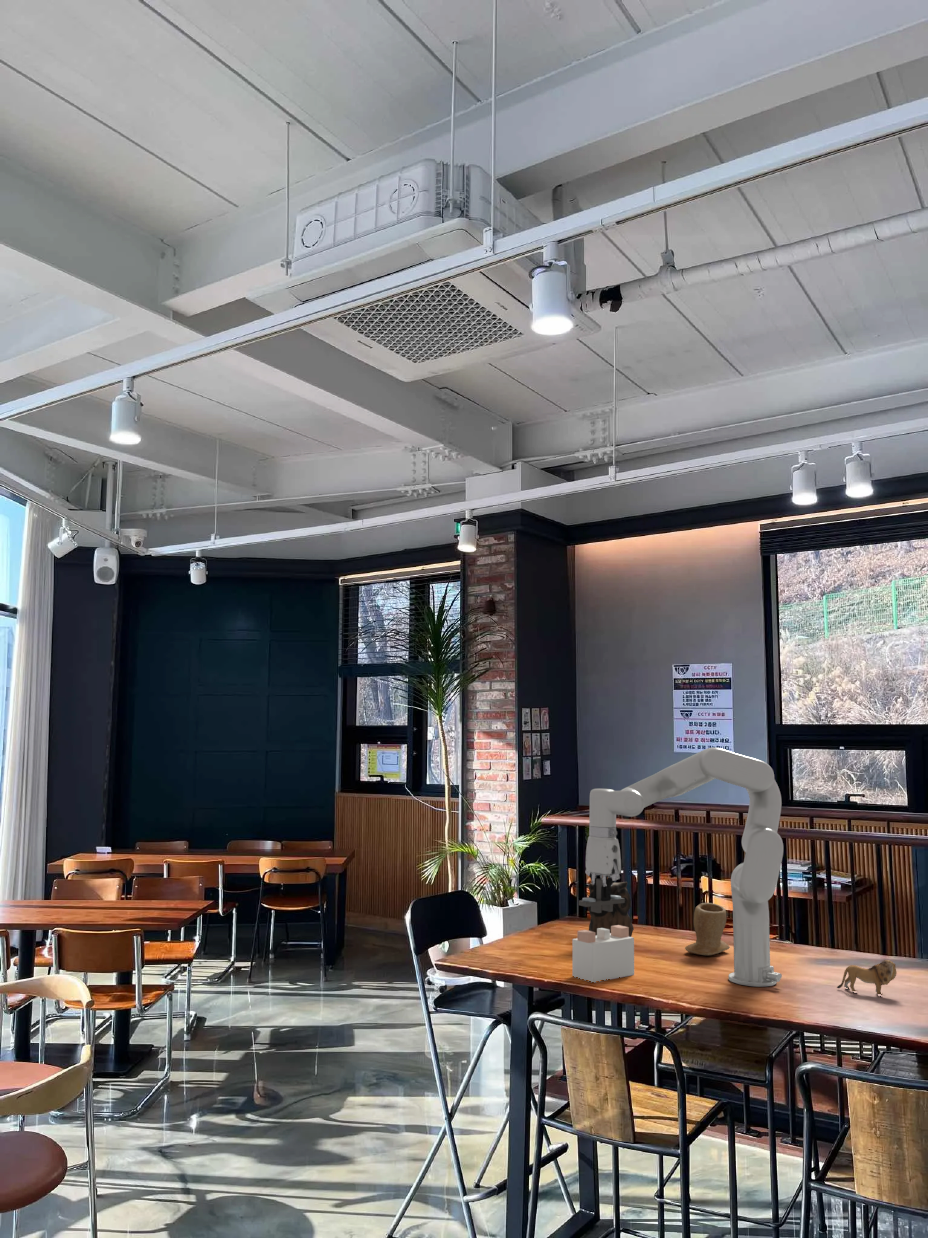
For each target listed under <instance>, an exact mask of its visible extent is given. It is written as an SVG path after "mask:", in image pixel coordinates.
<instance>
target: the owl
mask: <svg viewBox="0 0 928 1238" xmlns="http://www.w3.org/2000/svg"><path fill="white" fill-rule="evenodd" d="M593 885H594V884H592V882H591V883H589V884H588V890H589V891H588V892H589V895H588V897H587V898H593ZM627 886H628V882H627V881H623V882H622V881H620V882H614V883H613V885H612V886H611V895H618V896H621V898H625V903H619V904H613V911H612V912H608V911H604V910H602V911H601V913H596V912H592V911H591V906H590V907H587V910H588V913H589V914H590V915H589V916H590V921H589V925H588V931H592V932H595V936H596V935H597V929H598V928H605V929H609V930H610V933H611V926H615V925H621V926H625V927H629V937H633V931H634V930H635V928H634V925H633V924H632V923H633V919H632V918H631V916H630V915H629V910H630V909H631V907H632V899H631V894H630V893H629V891H628V888H627Z"/></svg>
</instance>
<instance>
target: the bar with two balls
mask: <svg viewBox="0 0 928 1238" xmlns="http://www.w3.org/2000/svg"><path fill="white" fill-rule="evenodd" d="M601 886H603V877H602V878H600V879H596V899H595V898H588V897H582V899H581V900H578V906H581V907H584V908H588V907H590V906H591V911H592V912H596V913H601V911H602V910H604V911H608V912H612V911H613V904H619V903H625V898H621V896H618V895H611V900H610V901H601Z"/></svg>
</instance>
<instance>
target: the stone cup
mask: <svg viewBox="0 0 928 1238" xmlns="http://www.w3.org/2000/svg"><path fill="white" fill-rule="evenodd" d="M726 924H727V911H726V908H725V907H724V906H721V905H719V904H716V903H713V902H702V903H699V904H698V905H697V906H696V907H695V909H694V912H693V928H694V931H695V936H696V937H695V938H696V939H695V942H694V943H691V944H688V945H686V946H685V947H684V950H685V951H687V952H688V953H691V954H695V955H701V956H713V955H716V954H719V953H722V952H725V951H727V950H729V949H730V945H728V943H726V942H725V941H724V940H722V936H723V932H724V929H725V927H726Z"/></svg>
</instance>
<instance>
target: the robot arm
mask: <svg viewBox="0 0 928 1238" xmlns="http://www.w3.org/2000/svg"><path fill="white" fill-rule="evenodd" d="M713 780H719V781H721V782H725V783H728V784H731V785H734V786H738V787H740V788H745V790H746V791H747V794H748V797H749V805H748V813H747V816H746V817H747V818H746V820H745V821H746V822H745V827H744V830H743V832H742V833H743V834H742V837H741V847H742V849H743V852H745V854H744V859H743V862H741V863H740V864H738V865H737V866H736V867H735V868H734V869H733V871H732V872H731V875H730V876H731V877H730V889H731V899H732V901H731V902H732V920H733V921H732V927H733V928H732V931H733V934H732V935H733V938H732V939H733V972H731V973H729V974H728V980H729V981H730V982H731V983H735V984H737V985H742V986H747V987H754V988H755V987H757V988H758V987H760V988H762V987H763V988H764V987H766V988H767V987H772V986H775V985H776V984H777V983H780V981H781V979H782V977H783V976H782V975H783V974H782V973H780V972H775V968H774V966H773V965H771V950H770V949H771V945H770V939H771V938H770V911H769V908H770V907H769V901H770V899H771V898H772V897H773V895H774V893H775V892H776V889H777V885H778V881H779V876H780V872H781V871H780V870H781V865H782V862H783V857H784V843H783V839H782V837H781V835H780V834H779V832H778V831H779V830H778V829H779V825H780V818H781V814H782V813H781V812H782V804H783V803H782V794H781V791H780V788H779V786H778V783H777V782H776V779H775V774H774V769H773V768H772V767H771V766H770V765H769V764H768V763H767V762H766V761H763V760H760V759H758V758H754V757H750V756H746V755H743V754H739V753H735V752H733V751H730V750H727V749H724V748H721V747H708V748H706V749H703V750H701V751H699V752H696V753H695V754H693V755H690V756H689V757H686V758H684V759H681V760H680V761H678V762H676V763H674V764H671V765H669V766H667V767H665V768H663V769H661V770H660V771H658V772H655V773H654V774H652V775H649V776H647V777H646V778H645V777H644V778H643V779H641V780H639V781H637V782H635V783H632V784H630V785H628V786H626V787H624V788H622V789H621V790H614V789H612V788H611V789H610V788H593V789H591V790H590V791H589V792H590V793H589V817H588V818H589V821H588V822H589V823H588V826H589V831H588V835H589V836H588V837H587V841H586V842H587V843H586V849H585V874H586V875H587V876H588V877H589V878H590V880H591V884H594V885H593V898H595V899H596V879H600V878H603V886H601V901H610V900H611V886H612V885H613V883H615V882H616V881H617V880H620V879H621V876H620V874H621V872H622V859H621V849H620V843H619V839H618V838H617V836H618V831H617V815H618V816H619V815H620V816H624V817H636V816H639V815H640V814H641V813H642V812H643V810H644V808H646V807H648V806H651V805H652V804H655V803H657V802H660V801H662V800H665V799H669V798H675V797H679V796H682V795H684V794H686V793H688V792H691V791H692V790H694V789H696V788H698V787H701V786H703V785H705V784H707V783H709V782H711V781H713Z"/></svg>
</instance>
